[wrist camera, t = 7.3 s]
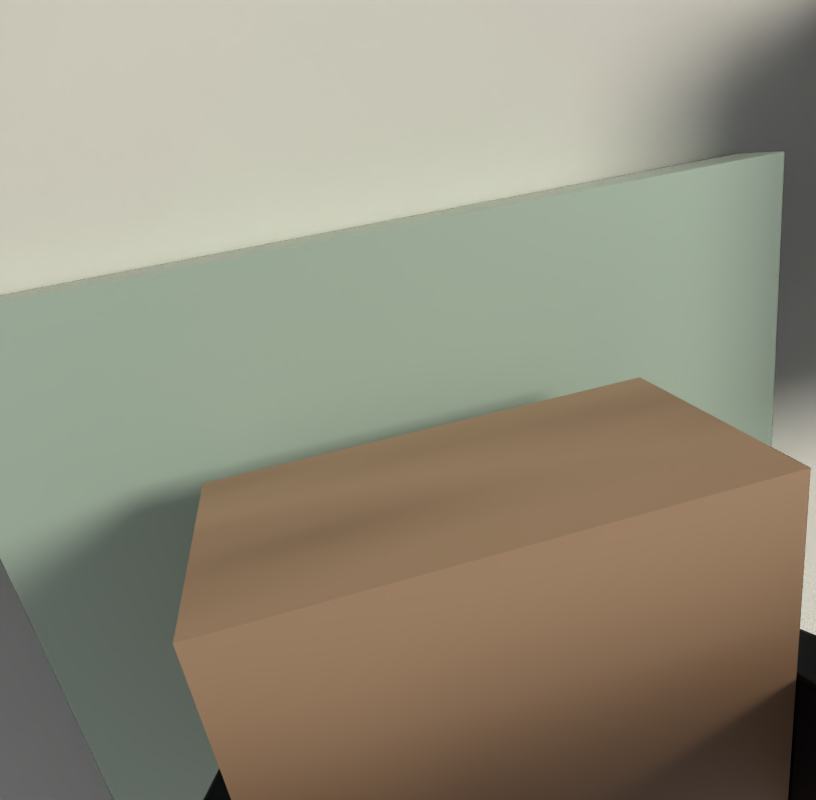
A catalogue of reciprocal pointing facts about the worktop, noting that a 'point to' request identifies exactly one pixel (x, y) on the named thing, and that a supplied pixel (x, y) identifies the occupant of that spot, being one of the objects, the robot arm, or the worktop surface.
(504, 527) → the walnut block
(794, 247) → the worktop surface
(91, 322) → the baseplate
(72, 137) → the worktop surface
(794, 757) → the robot arm
